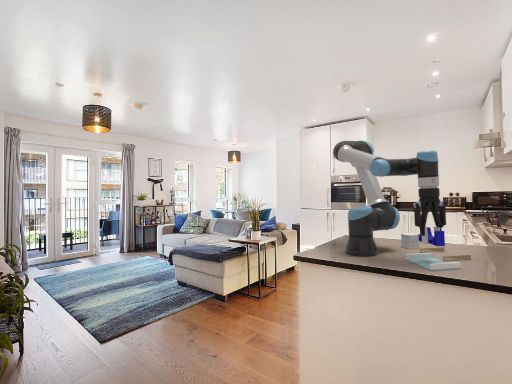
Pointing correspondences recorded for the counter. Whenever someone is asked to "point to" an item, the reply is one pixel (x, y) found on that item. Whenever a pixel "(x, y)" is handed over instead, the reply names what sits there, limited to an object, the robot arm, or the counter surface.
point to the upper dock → (446, 258)
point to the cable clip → (437, 239)
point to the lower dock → (431, 262)
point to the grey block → (409, 240)
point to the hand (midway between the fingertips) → (431, 242)
